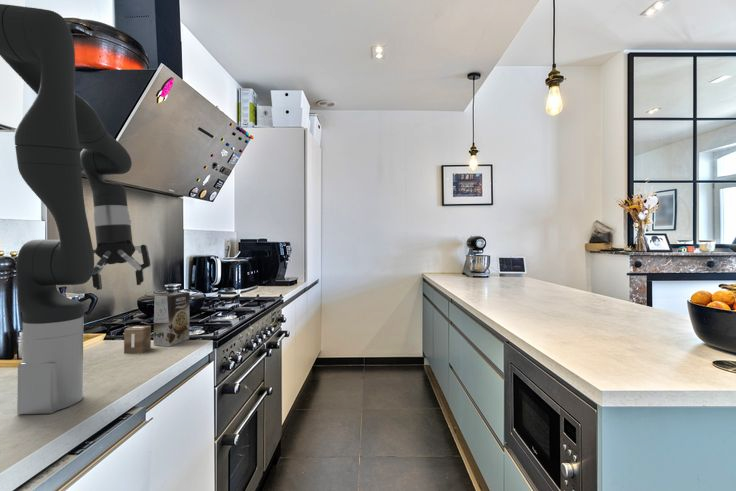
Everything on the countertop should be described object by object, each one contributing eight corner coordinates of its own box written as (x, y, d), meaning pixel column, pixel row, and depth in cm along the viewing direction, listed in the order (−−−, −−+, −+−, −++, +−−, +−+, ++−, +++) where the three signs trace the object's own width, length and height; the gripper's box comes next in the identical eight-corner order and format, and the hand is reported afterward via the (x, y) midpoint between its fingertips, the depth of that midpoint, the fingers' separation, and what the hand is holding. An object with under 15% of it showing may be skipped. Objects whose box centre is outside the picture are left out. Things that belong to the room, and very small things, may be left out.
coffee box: (170, 346, 111) (170, 295, 111) (152, 345, 112) (153, 295, 112) (190, 339, 120) (190, 292, 120) (173, 338, 121) (174, 291, 121)
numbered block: (141, 353, 104) (141, 329, 104) (123, 353, 104) (124, 329, 104) (150, 348, 109) (150, 325, 109) (133, 348, 109) (133, 325, 109)
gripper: (73, 225, 84) (80, 292, 84) (143, 221, 90) (149, 284, 90) (83, 227, 91) (90, 289, 91) (147, 223, 97) (153, 282, 97)
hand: (119, 287), depth 91 cm, fingers open, 8 cm apart
